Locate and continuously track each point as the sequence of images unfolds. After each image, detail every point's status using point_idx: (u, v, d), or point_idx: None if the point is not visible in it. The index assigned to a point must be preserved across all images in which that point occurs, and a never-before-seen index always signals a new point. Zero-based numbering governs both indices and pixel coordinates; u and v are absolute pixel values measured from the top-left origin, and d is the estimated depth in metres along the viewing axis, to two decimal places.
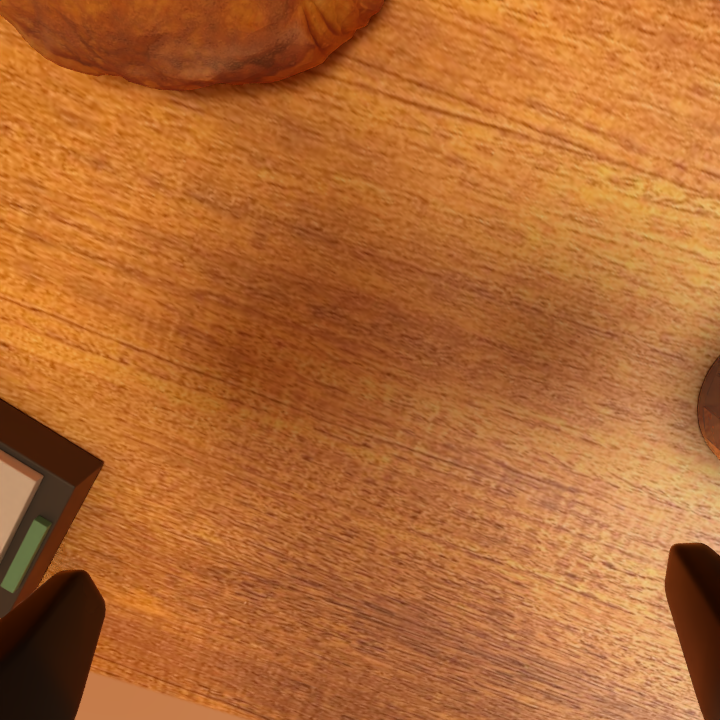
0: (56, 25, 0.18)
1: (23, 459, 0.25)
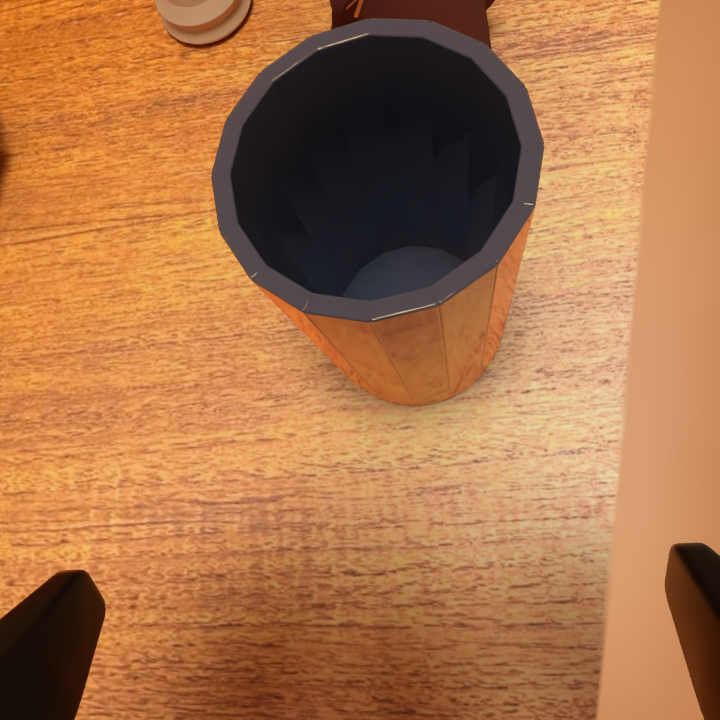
0: None
1: None
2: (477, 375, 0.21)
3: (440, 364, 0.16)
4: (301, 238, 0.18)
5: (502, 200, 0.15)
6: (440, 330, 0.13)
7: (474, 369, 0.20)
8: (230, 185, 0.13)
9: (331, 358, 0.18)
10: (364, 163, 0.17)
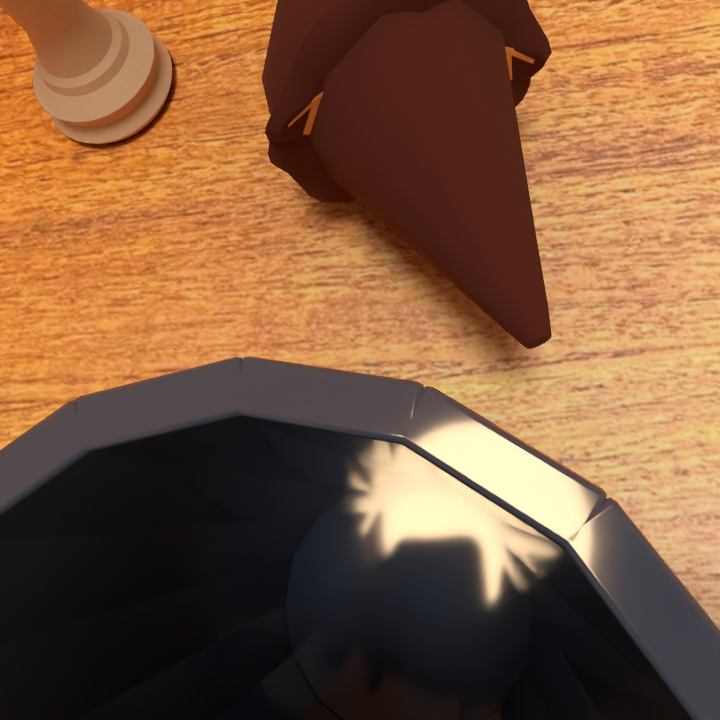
0: None
1: None
2: None
3: None
4: (177, 614, 0.09)
5: (600, 677, 0.06)
6: None
7: None
8: None
9: None
10: (298, 474, 0.09)
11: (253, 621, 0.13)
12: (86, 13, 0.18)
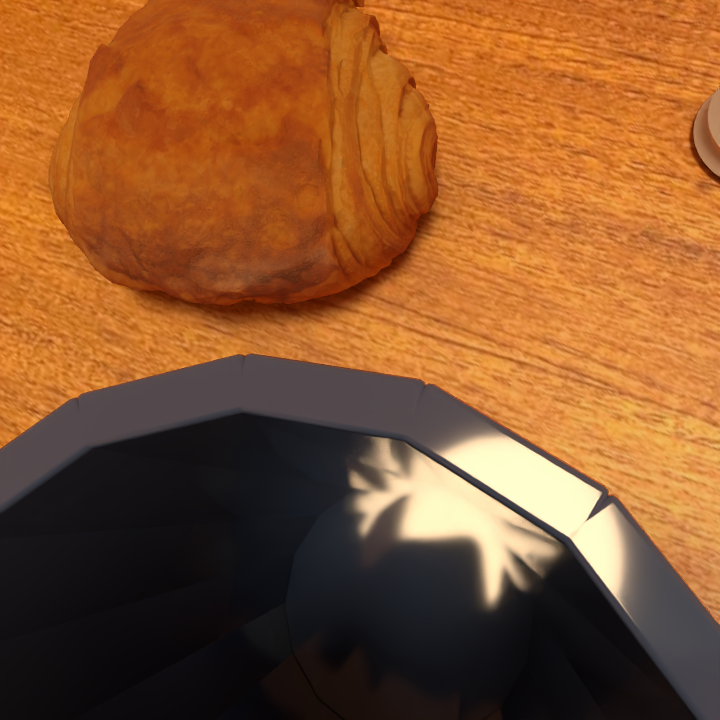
0: (115, 241, 0.20)
1: None
2: None
3: None
4: (178, 612, 0.09)
5: (601, 675, 0.06)
6: None
7: None
8: None
9: None
10: (299, 473, 0.09)
11: (254, 620, 0.13)
12: None
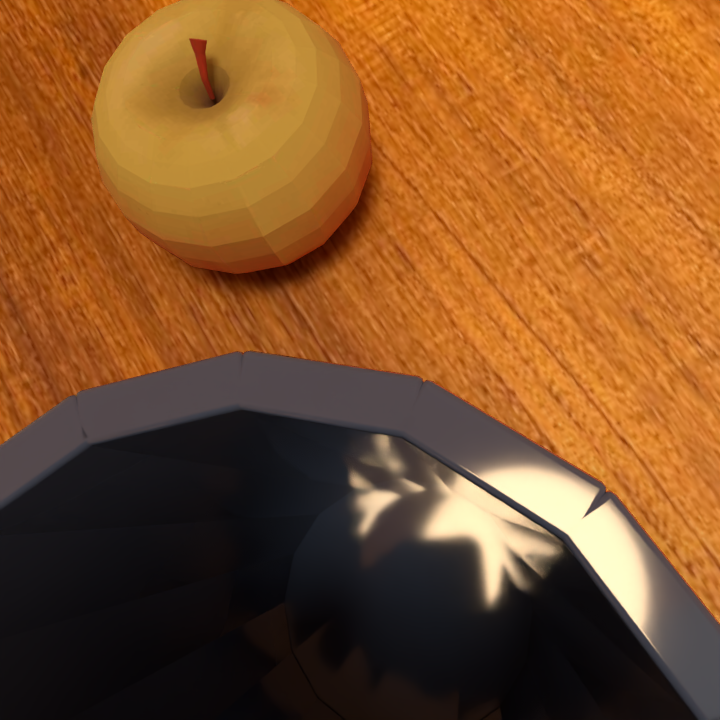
0: None
1: None
2: None
3: None
4: (178, 611, 0.09)
5: (600, 672, 0.06)
6: None
7: None
8: None
9: None
10: (298, 471, 0.09)
11: (253, 619, 0.13)
12: None
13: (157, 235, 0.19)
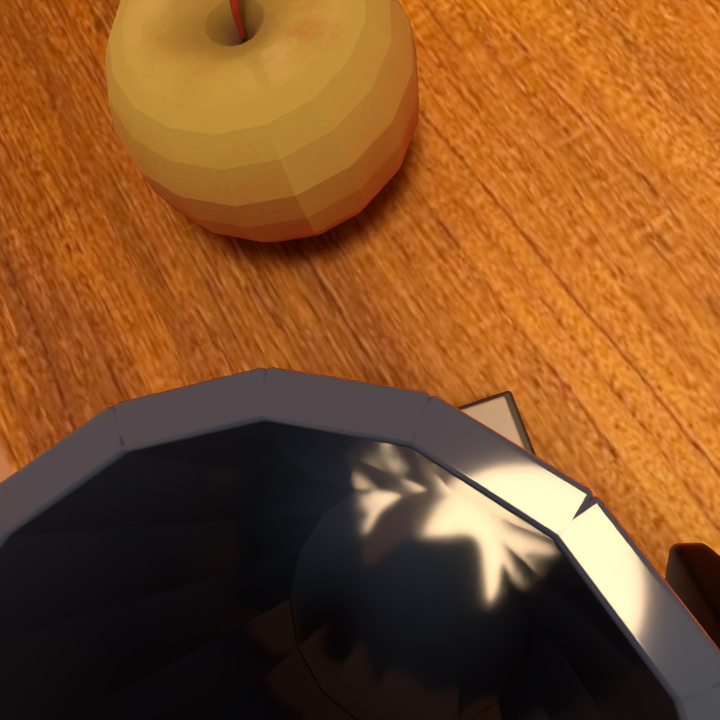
0: None
1: None
2: None
3: None
4: (192, 606, 0.10)
5: (591, 663, 0.07)
6: None
7: None
8: None
9: None
10: (307, 474, 0.09)
11: (261, 615, 0.13)
12: None
13: (174, 192, 0.17)
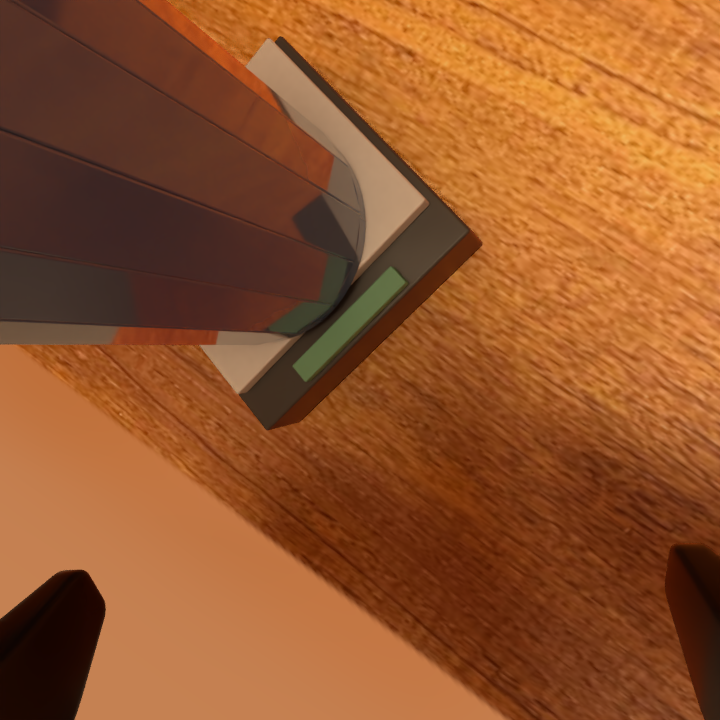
0: None
1: (409, 173, 0.17)
2: (342, 264, 0.16)
3: (196, 288, 0.11)
4: None
5: None
6: (47, 258, 0.08)
7: (315, 261, 0.14)
8: None
9: None
10: None
11: None
12: None
13: None
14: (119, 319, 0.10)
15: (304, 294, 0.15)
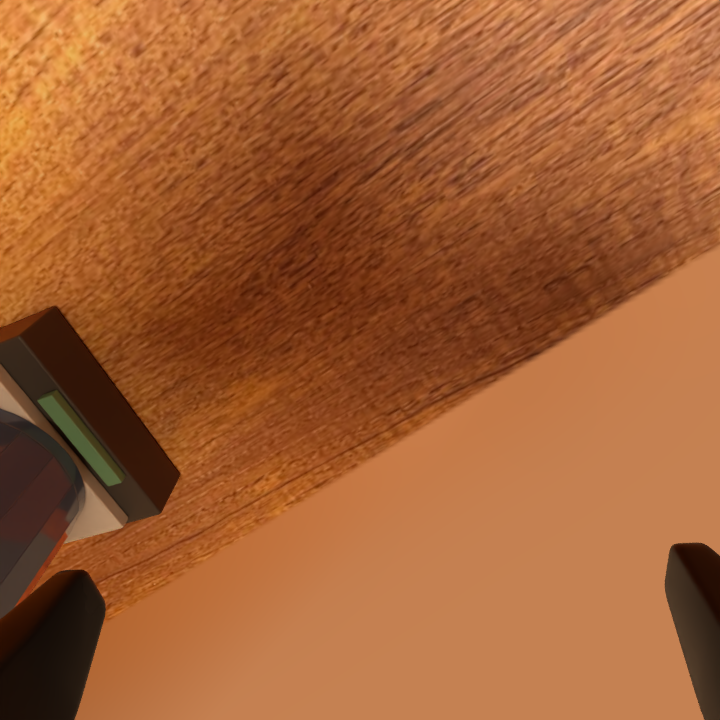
0: None
1: None
2: (13, 446, 0.20)
3: None
4: None
5: None
6: None
7: None
8: None
9: None
10: None
11: None
12: None
13: None
14: None
15: (19, 490, 0.19)
